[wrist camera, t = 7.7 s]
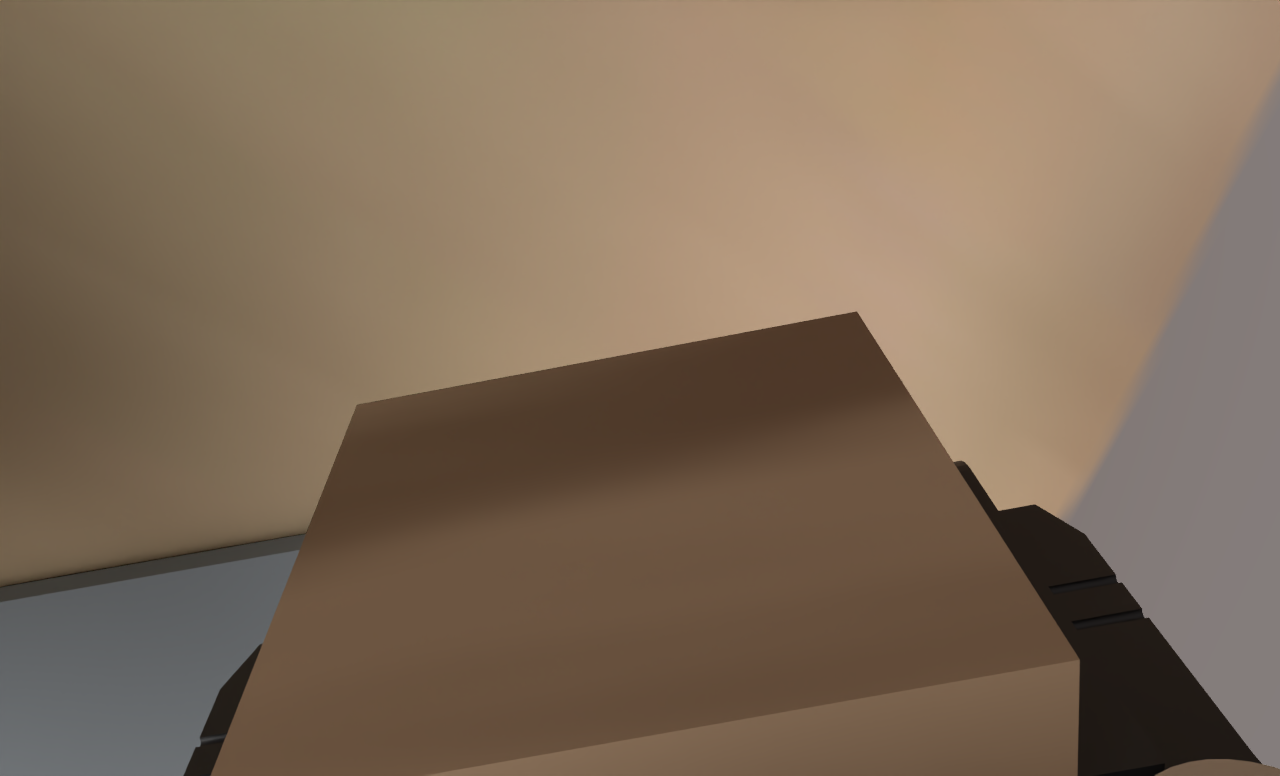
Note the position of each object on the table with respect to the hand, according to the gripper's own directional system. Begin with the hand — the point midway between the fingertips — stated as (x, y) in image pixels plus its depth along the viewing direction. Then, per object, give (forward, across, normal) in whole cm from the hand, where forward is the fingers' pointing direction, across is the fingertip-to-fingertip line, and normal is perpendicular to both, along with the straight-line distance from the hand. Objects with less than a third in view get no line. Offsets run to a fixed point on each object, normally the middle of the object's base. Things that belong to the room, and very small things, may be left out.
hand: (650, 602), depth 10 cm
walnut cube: (+1, 0, 0) cm, 1 cm away
